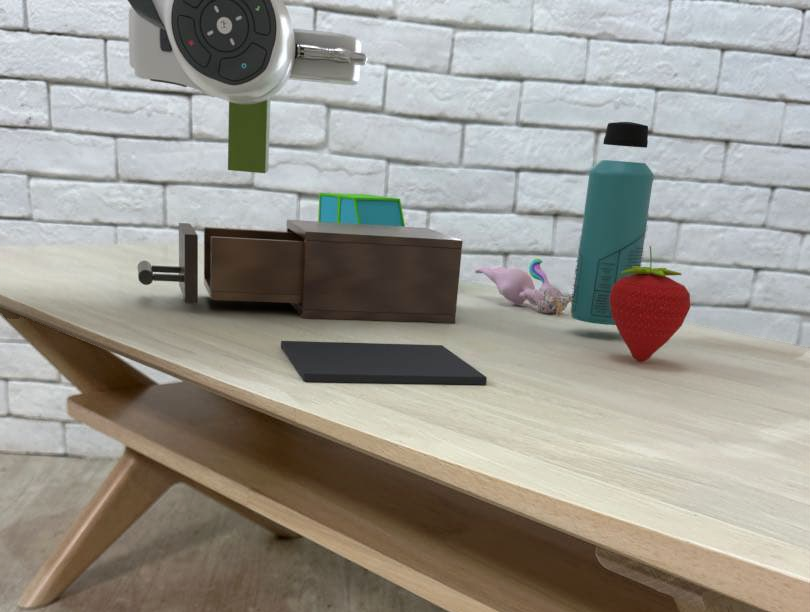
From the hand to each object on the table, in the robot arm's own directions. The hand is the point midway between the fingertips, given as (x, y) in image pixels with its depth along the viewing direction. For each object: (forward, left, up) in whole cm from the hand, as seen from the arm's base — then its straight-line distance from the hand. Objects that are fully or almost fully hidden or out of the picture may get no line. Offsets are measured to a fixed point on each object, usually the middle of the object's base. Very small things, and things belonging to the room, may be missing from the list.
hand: (251, 57), depth 94 cm
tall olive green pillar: (0, -1, -10) cm, 10 cm away
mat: (+7, -28, -23) cm, 37 cm away
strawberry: (+32, -24, -23) cm, 46 cm away
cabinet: (+12, -1, -23) cm, 26 cm away
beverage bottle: (+34, -11, -23) cm, 43 cm away
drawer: (-1, -1, -22) cm, 22 cm away
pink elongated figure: (+32, +6, -23) cm, 40 cm away
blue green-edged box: (+18, +21, -23) cm, 36 cm away
